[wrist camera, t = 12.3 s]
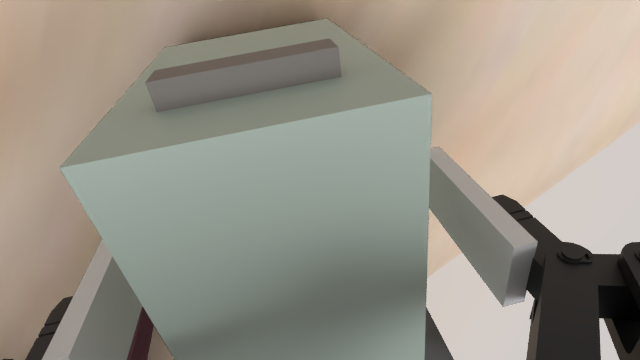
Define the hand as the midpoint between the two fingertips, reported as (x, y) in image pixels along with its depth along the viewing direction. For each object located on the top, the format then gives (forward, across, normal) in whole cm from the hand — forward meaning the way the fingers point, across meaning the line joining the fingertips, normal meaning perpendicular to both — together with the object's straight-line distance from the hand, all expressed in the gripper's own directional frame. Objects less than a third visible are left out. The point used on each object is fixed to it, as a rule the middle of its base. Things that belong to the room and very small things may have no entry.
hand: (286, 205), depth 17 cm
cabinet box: (+6, 0, +1) cm, 6 cm away
